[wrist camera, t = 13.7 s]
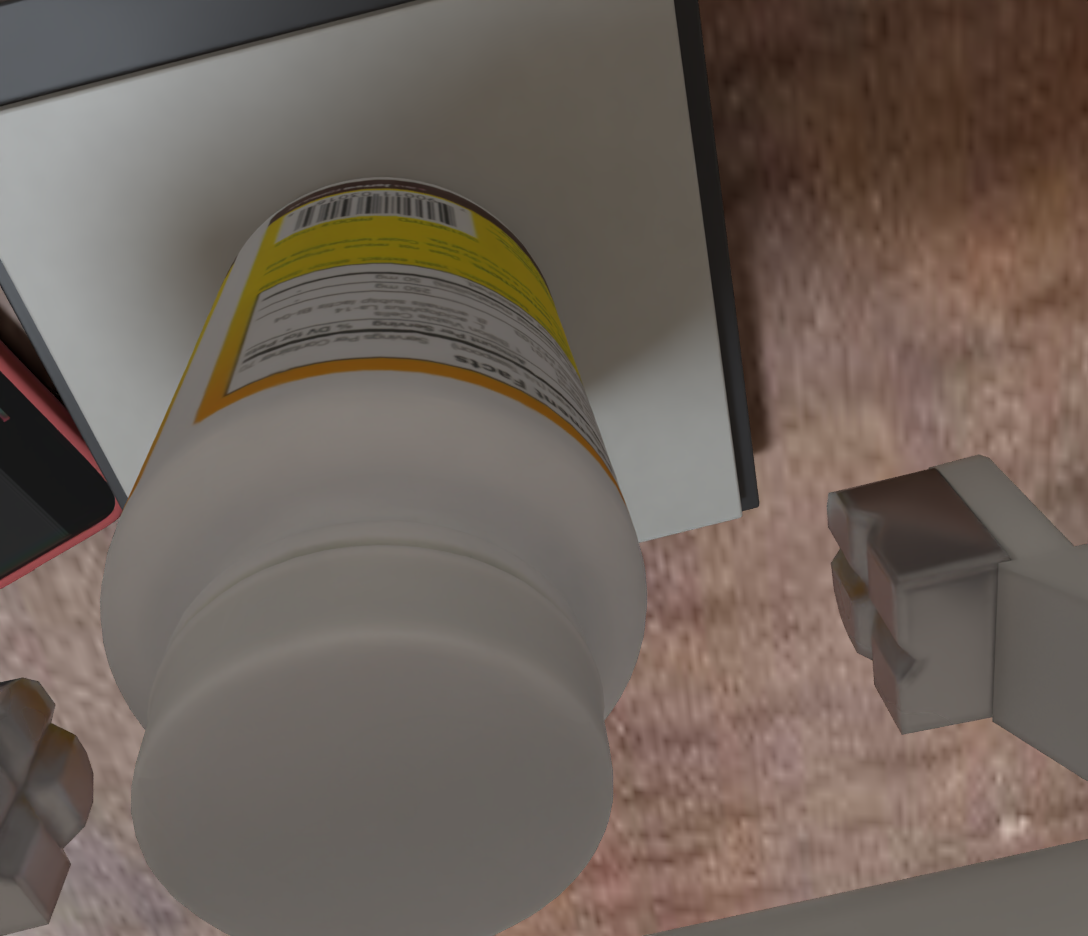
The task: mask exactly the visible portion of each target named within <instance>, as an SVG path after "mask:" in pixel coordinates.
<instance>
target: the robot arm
mask: <svg viewBox="0 0 1088 936" xmlns="http://www.w3.org/2000/svg"><path fill="white" fill-rule="evenodd" d="M827 517H828V528H829V530H830V531H831V533H832V535H833V536H834V538H835V540H836V542H837V543H838V545H839V547H840V550H839V551H838V553H837V554H836V556H835V558H834V559H833V561H832V562H831V568H832V577H833V586H834V592H835V596H836V600H837V605H838V609H839V613H840V616H841V619H842V621H843V624H844V627H845V629H846V632H847V634H848V636H849V638H850V640H851V642H852V644H853V646H854V648H855V650H856V652H857V653H859V654H861V655H863V656H865V657H867V658H869V659H871V660H873V674H874V685H875V687H876V689H877V691H878V692H879V694H880V696H881V698H882V700H883V702H884V703H885V705H886V707H887V709H888V711H889V712H890V714H891V716H892V718H893V720H894V722H895V723H896V725H897V727H898V729H899V731H900V732H901V734H902V735H903V734H908V733H913V732H918V731H923V730H929V729H934V728H939V727H944V726H949V725H954V724H959V723H965V722H970V721H975V720H980V719H985V718H990V717H993V722H994V723H996V724H998V725H999V726H1001V727H1002V728H1004V729H1006V730H1007V731H1009V732H1010V733H1012V734H1013V735H1015V736H1017V737H1018V738H1020V739H1021V740H1023V741H1025V742H1026V743H1028V744H1029V745H1031V746H1032V747H1034V748H1036V749H1037V750H1039V751H1040V752H1042V753H1043V754H1045V755H1047V756H1048V757H1050V758H1051V759H1053V760H1055V761H1056V762H1058V763H1059V764H1061V765H1062V766H1064V767H1066V768H1067V769H1069V770H1070V771H1072V772H1074V773H1075V774H1077V775H1078V776H1080V777H1081V778H1083V779H1085V780H1086V781H1088V544H1084V545H1079V546H1075V547H1074V545H1073V544H1072V543H1071V542H1070V541H1069V540H1068V539H1067V538H1066V537H1065V536H1064V535H1063V534H1062V533H1061V532H1060V531H1059V530H1058V529H1057V528H1056V527H1055V526H1054V525H1053V524H1052V523H1051V522H1050V521H1049V520H1048V519H1047V517H1046V516H1045V515H1044V514H1043V513H1042V512H1041V511H1040V510H1039V509H1038V508H1037V507H1036V506H1035V505H1034V504H1033V503H1032V502H1031V501H1030V500H1029V499H1028V498H1027V497H1026V496H1025V495H1024V494H1023V493H1022V492H1021V490H1020V489H1019V488H1018V487H1017V486H1016V485H1015V484H1014V483H1013V482H1012V481H1011V480H1010V479H1009V478H1008V477H1007V476H1006V475H1005V474H1004V473H1003V472H1002V471H1001V470H1000V469H999V468H998V467H997V466H996V465H995V464H994V462H993V461H992V460H991V459H990V458H988V457H985V456H982V455H975V456H971V457H967V458H963V459H960V460H956V461H952V462H948V463H944V464H940V465H937V466H933V467H929V469H927V470H923V471H919V472H915V473H911V474H906V475H902V476H898V477H894V478H890V479H885V480H881V481H877V482H873V483H869V484H864V485H860V486H856V487H852V488H848V489H843V490H839V491H835V492H831V493H829V494H828V502H827ZM54 709H55V703H54V702H53V700H52V699H51V698H50V696H49V695H48V694H47V692H46V691H45V689H44V688H43V687H42V685H41V684H40V683H39V681H35V680H31V679H26V678H19V679H14V680H9V681H4V682H0V936H3V935H7V934H11V933H15V932H19V931H23V930H27V929H31V928H35V927H39V926H43V925H47V924H49V922H50V919H51V916H52V914H53V911H54V908H55V906H56V903H57V900H58V898H59V895H60V892H61V890H62V887H63V884H64V882H65V879H66V876H67V874H68V871H69V868H70V866H71V863H70V861H69V860H68V858H67V856H66V854H65V852H64V850H63V848H64V847H65V846H66V845H67V844H68V843H69V842H70V841H71V840H72V839H73V838H74V837H75V836H76V835H77V834H78V833H79V832H80V831H81V830H82V829H83V828H84V827H85V825H86V822H87V819H88V816H89V813H90V810H91V807H92V804H93V771H92V768H91V764H90V761H89V758H88V755H87V752H86V751H85V749H84V747H83V746H82V744H81V743H80V741H79V740H78V738H77V736H76V735H74V734H72V733H70V732H68V731H66V730H64V729H62V728H60V727H58V726H56V725H54V724H52V723H51V721H52V717H53V713H54ZM644 936H1088V839H1086V840H1081V841H1076V842H1072V843H1067V844H1063V845H1058V846H1053V847H1049V848H1044V849H1040V850H1035V851H1030V852H1026V853H1021V854H1017V855H1012V856H1008V857H1003V858H998V859H994V860H989V861H985V862H980V863H975V864H971V865H966V866H962V867H957V868H952V869H948V870H943V871H939V872H934V873H930V874H925V875H920V876H916V877H911V878H907V879H902V880H897V881H893V882H888V883H884V884H879V885H875V886H870V887H865V888H861V889H856V890H852V891H847V892H842V893H838V894H833V895H829V896H824V897H819V898H815V899H810V900H806V901H801V902H796V903H792V904H787V905H782V906H778V907H773V908H769V909H764V910H759V911H755V912H750V913H746V914H741V915H736V916H732V917H727V918H722V919H718V920H713V921H709V922H704V923H699V924H695V925H690V926H685V927H681V928H676V929H672V930H667V931H662V932H658V933H653V934H649V935H644Z"/></svg>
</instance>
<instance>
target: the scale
mask: <svg viewBox="0 0 1088 936" xmlns="http://www.w3.org/2000/svg"><path fill="white" fill-rule="evenodd" d="M371 177H392V178H405V179H411V180H416V181H421V182H425V183H429V184H433V185H437V186H440V187H442V188H445V189H448V190H451V191H453V192H455V193H458V194H460V195H462V196H464V197H466V198H468V199H470V200H471V201H473V202H475V203H476V204H478V205H479V206H481V207H483V208H484V209H486V210H487V211H489V212H490V213H491V214H492V215H494V216H495V217H496V218H498V219H499V220H500V221H501V222H502V223H503V224H504V225H506V226H507V227H508V228H509V229H510V230H511V231H512V232H513V233H514V234H515V236H516V237H517V238H518V239H519V240H520V241H521V242H522V244H523V245H524V246H525V247H526V249H527V250H528V252H529V253H530V255H531V256H532V258H533V260H534V261H535V263H536V264H537V266H538V267H539V269H540V271H541V273H542V275H543V277H544V279H545V280H546V283H547V285H548V288H549V290H550V293H551V296H552V298H553V301H554V304H555V307H556V310H557V313H558V316H559V319H560V322H561V324H562V327H563V329H564V332H565V335H566V338H567V341H568V344H569V347H570V350H571V353H572V355H573V358H574V361H575V363H576V366H577V369H578V372H579V374H580V377H581V380H582V383H583V386H584V389H585V392H586V395H587V397H588V400H589V403H590V406H591V408H592V411H593V414H594V417H595V420H596V423H597V425H598V428H599V430H600V433H601V436H602V439H603V442H604V445H605V448H606V451H607V454H608V456H609V459H610V462H611V464H612V467H613V469H614V472H615V475H616V478H617V481H618V484H619V487H620V490H621V492H622V494H623V497H624V500H625V502H626V505H627V508H628V511H629V514H630V517H631V520H632V523H633V526H634V529H635V531H636V534H637V538H638V542H639V543H640V542H644V541H648V540H652V539H656V538H660V537H664V536H668V535H673V534H677V533H681V532H685V531H689V530H693V529H697V528H701V527H705V526H709V525H713V524H717V523H721V522H725V521H729V520H733V519H737V518H740V517H742V511H745V510H749V509H753V508H757V507H759V497H758V489H757V481H756V473H755V465H754V456H753V448H752V440H751V432H750V423H749V415H748V407H747V399H746V391H745V382H744V374H743V366H742V358H741V349H740V341H739V333H738V325H737V317H736V308H735V300H734V292H733V284H732V275H731V267H730V259H729V251H728V243H727V234H726V226H725V218H724V210H723V201H722V193H721V185H720V177H719V169H718V160H717V152H716V144H715V136H714V128H713V119H712V111H711V103H710V95H709V86H708V78H707V70H706V62H705V54H704V45H703V37H702V29H701V21H700V12H699V4H698V0H0V286H1V288H2V290H3V291H4V293H5V295H6V297H7V299H8V301H9V303H10V304H11V306H12V308H13V310H14V312H15V314H16V315H17V317H18V319H19V321H20V323H21V325H22V327H23V328H24V330H25V332H26V334H27V336H28V338H29V339H30V341H31V343H32V345H33V347H34V349H35V351H36V352H37V354H38V356H39V358H40V360H41V362H42V363H43V365H44V367H45V369H46V371H47V373H48V375H49V376H50V378H51V380H52V382H53V384H54V386H55V387H56V389H57V391H58V393H59V395H60V397H61V399H62V400H63V402H64V404H65V406H66V408H67V410H68V411H69V413H70V415H71V417H72V419H73V421H74V423H75V424H76V426H77V428H78V430H79V432H80V434H81V435H82V437H83V439H84V441H85V443H86V445H87V447H88V448H89V450H90V452H91V454H92V456H93V458H94V459H95V461H96V463H97V465H98V467H99V469H100V471H101V472H102V474H103V476H104V478H105V480H106V482H107V483H108V485H109V487H110V489H111V491H112V493H113V495H114V496H115V498H116V500H117V502H118V504H119V506H120V507H121V509H122V511H123V509H124V506H125V504H126V502H127V500H128V497H129V495H130V493H131V491H132V488H133V486H134V484H135V482H136V479H137V477H138V475H139V473H140V470H141V468H142V466H143V464H144V461H145V459H146V457H147V455H148V452H149V450H150V448H151V446H152V443H153V441H154V439H155V437H156V435H157V432H158V430H159V428H160V426H161V423H162V421H163V419H164V416H165V414H166V412H167V410H168V407H169V405H170V403H171V401H172V398H173V396H174V394H175V391H176V389H177V387H178V384H179V382H180V380H181V378H182V375H183V373H184V371H185V369H186V367H187V364H188V362H189V359H190V357H191V355H192V352H193V350H194V348H195V345H196V343H197V340H198V338H199V336H200V334H201V331H202V329H203V326H204V324H205V321H206V319H207V317H208V315H209V313H210V311H211V308H212V305H213V303H214V301H215V299H216V297H217V294H218V292H219V290H220V288H221V285H222V283H223V281H224V279H225V277H226V275H227V272H228V271H229V269H230V267H231V265H232V263H233V262H234V260H235V258H236V256H237V255H238V253H239V252H240V250H241V249H242V247H243V246H244V244H245V243H246V242H247V240H248V239H249V238H250V237H251V235H252V234H253V233H254V232H255V231H256V230H257V229H258V228H259V227H260V226H261V225H262V224H263V223H264V222H265V221H266V220H267V219H268V218H269V217H271V216H272V215H273V214H274V213H276V212H277V211H279V210H280V209H281V208H283V207H284V206H286V205H287V204H289V203H291V202H292V201H294V200H296V199H298V198H299V197H301V196H303V195H305V194H308V193H310V192H312V191H314V190H317V189H319V188H322V187H325V186H328V185H331V184H335V183H339V182H343V181H348V180H353V179H360V178H371Z"/></svg>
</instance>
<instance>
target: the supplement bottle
mask: <svg viewBox="0 0 1088 936" xmlns="http://www.w3.org/2000/svg"><path fill="white" fill-rule="evenodd" d="M100 609H101V625H102V635H103V643H104V647H105V651H106V655H107V659H108V663H109V666H110V668H111V671H112V674H113V676H114V679H115V681H116V684H117V686H118V688H119V690H120V692H121V693H122V695H123V697H124V699H125V701H126V703H127V704H128V706H129V708H130V710H131V711H132V713H133V714H134V716H135V717H136V718H137V720H138V721H139V722H140V724H141V725H142V726H143V728H144V729H145V734H144V737H143V741H142V744H141V748H140V751H139V754H138V758H137V761H136V765H135V771H134V776H133V781H132V790H131V814H132V819H133V824H134V829H135V834H136V838H137V840H138V843H139V845H140V848H141V850H142V853H143V855H144V858H145V860H146V862H147V865H148V866H149V867H150V869H151V870H152V872H153V873H154V875H155V876H156V877H157V879H158V880H159V881H160V882H161V884H162V885H163V886H164V887H165V888H166V889H167V890H168V892H169V893H170V894H171V895H172V896H173V897H174V898H175V899H176V900H177V901H178V902H180V903H181V904H182V905H184V906H185V907H186V908H188V909H189V910H190V911H191V912H193V913H194V914H195V915H197V916H198V917H199V918H201V919H202V920H204V921H206V922H207V923H209V924H211V925H212V926H214V927H216V928H217V929H219V930H221V931H222V932H224V933H226V934H228V935H231V936H494V935H496V934H498V933H500V932H502V931H504V930H506V929H508V928H510V927H512V926H513V925H515V924H517V923H519V922H521V921H523V920H525V919H526V918H528V917H530V916H531V915H533V914H535V913H536V912H538V911H539V910H541V909H542V908H543V907H545V906H546V905H547V904H548V903H550V902H551V901H552V900H554V899H555V898H556V897H558V896H559V895H560V894H561V893H562V892H563V891H564V890H565V889H566V888H567V887H568V886H569V885H570V884H571V883H572V882H573V881H574V880H575V879H576V877H577V876H578V875H579V874H580V873H581V871H582V870H583V869H584V868H585V867H586V865H587V864H588V862H589V861H590V859H591V858H592V856H593V855H594V853H595V851H596V849H597V847H598V845H599V843H600V841H601V839H602V837H603V835H604V832H605V830H606V827H607V824H608V821H609V817H610V812H611V808H612V803H613V769H612V762H611V755H610V748H609V743H608V738H607V733H606V728H605V723H604V720H605V719H606V718H607V716H608V715H609V714H610V712H611V711H612V709H613V708H614V706H615V705H616V703H617V702H618V700H619V699H620V697H621V695H622V693H623V691H624V689H625V687H626V685H627V684H628V682H629V680H630V677H631V675H632V672H633V670H634V667H635V665H636V662H637V659H638V655H639V652H640V648H641V644H642V641H643V637H644V629H645V619H646V609H647V586H646V573H645V566H644V561H643V557H642V553H641V549H640V546H639V542H638V538H637V534H636V531H635V529H634V526H633V523H632V520H631V517H630V514H629V511H628V508H627V505H626V502H625V500H624V497H623V494H622V492H621V490H620V487H619V484H618V481H617V478H616V475H615V472H614V469H613V467H612V464H611V462H610V459H609V456H608V454H607V451H606V448H605V445H604V442H603V439H602V436H601V433H600V430H599V428H598V425H597V423H596V420H595V417H594V414H593V411H592V408H591V406H590V403H589V400H588V397H587V395H586V392H585V389H584V386H583V383H582V380H581V377H580V374H579V372H578V369H577V366H576V363H575V361H574V358H573V355H572V353H571V350H570V347H569V344H568V341H567V338H566V335H565V332H564V329H563V327H562V324H561V322H560V319H559V316H558V313H557V310H556V307H555V304H554V301H553V298H552V296H551V293H550V290H549V288H548V285H547V283H546V280H545V279H544V277H543V275H542V273H541V271H540V269H539V267H538V266H537V264H536V263H535V261H534V260H533V258H532V256H531V255H530V253H529V252H528V250H527V249H526V247H525V246H524V245H523V244H522V242H521V241H520V240H519V239H518V238H517V237H516V236H515V234H514V233H513V232H512V231H511V230H510V229H509V228H508V227H507V226H506V225H504V224H503V223H502V222H501V221H500V220H499V219H498V218H496V217H495V216H494V215H492V214H491V213H490V212H489V211H487V210H486V209H484V208H483V207H481V206H479V205H478V204H476V203H475V202H473V201H471V200H470V199H468V198H466V197H464V196H462V195H460V194H458V193H455V192H453V191H451V190H448V189H445V188H442V187H440V186H437V185H433V184H429V183H425V182H421V181H416V180H411V179H405V178H392V177H371V178H360V179H353V180H348V181H343V182H339V183H335V184H331V185H328V186H325V187H322V188H319V189H317V190H314V191H312V192H310V193H308V194H305V195H303V196H301V197H299V198H298V199H296V200H294V201H292V202H291V203H289V204H287V205H286V206H284V207H283V208H281V209H280V210H279V211H277V212H276V213H274V214H273V215H272V216H271V217H269V218H268V219H267V220H266V221H265V222H264V223H263V224H262V225H261V226H260V227H259V228H258V229H257V230H256V231H255V232H254V233H253V234H252V235H251V237H250V238H249V239H248V240H247V242H246V243H245V244H244V246H243V247H242V249H241V250H240V252H239V253H238V255H237V256H236V258H235V260H234V262H233V263H232V265H231V267H230V269H229V271H228V272H227V275H226V277H225V279H224V281H223V283H222V285H221V288H220V290H219V292H218V294H217V297H216V299H215V301H214V303H213V305H212V308H211V311H210V313H209V315H208V317H207V319H206V321H205V324H204V326H203V329H202V331H201V334H200V336H199V338H198V340H197V343H196V345H195V348H194V350H193V352H192V355H191V357H190V359H189V362H188V364H187V367H186V369H185V371H184V373H183V375H182V378H181V380H180V382H179V384H178V387H177V389H176V391H175V394H174V396H173V398H172V401H171V403H170V405H169V407H168V410H167V412H166V414H165V416H164V419H163V421H162V423H161V426H160V428H159V430H158V432H157V435H156V437H155V439H154V441H153V443H152V446H151V448H150V450H149V452H148V455H147V457H146V459H145V461H144V464H143V466H142V468H141V470H140V473H139V475H138V477H137V479H136V482H135V484H134V486H133V488H132V491H131V493H130V495H129V497H128V500H127V502H126V504H125V506H124V509H123V511H122V513H121V516H120V518H119V521H118V524H117V527H116V530H115V533H114V536H113V539H112V541H111V544H110V547H109V550H108V553H107V559H106V564H105V570H104V575H103V581H102V587H101V597H100Z"/></svg>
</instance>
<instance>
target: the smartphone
mask: <svg viewBox="0 0 1088 936" xmlns="http://www.w3.org/2000/svg"><path fill="white" fill-rule="evenodd" d="M121 513H122V509H121V507H120V506H119V504H118V502H117V500H116V498H115V496H114V495H113V493H112V491H111V489H110V487H109V485H108V483H107V482H106V480H105V478H104V476H103V474H102V472H101V471H100V469H99V467H98V465H97V463H96V461H95V459H94V458H93V456H92V454H91V452H90V450H89V448H88V447H87V445H86V443H85V441H84V439H83V437H82V435H81V434H80V432H79V430H78V428H77V426H76V424H75V423H74V421H73V419H72V417H71V415H70V413H69V411H68V410H67V409H66V408H65V407H64V406H63V405H62V404H61V403H60V402H59V401H58V400H57V399H56V398H55V397H54V395H53V394H52V393H51V392H50V391H49V390H48V389H47V388H46V387H45V386H44V385H43V384H42V383H41V382H40V381H39V380H38V379H37V378H36V377H35V376H34V375H33V374H32V373H31V371H30V370H29V369H28V368H27V367H26V366H25V365H24V364H23V363H22V362H21V361H20V360H19V359H18V358H17V357H16V356H15V355H14V354H13V353H12V352H11V351H10V350H9V349H8V348H7V346H6V345H5V344H4V343H3V342H2V341H1V340H0V589H2V588H4V587H5V586H7V585H9V584H11V583H12V582H14V581H16V580H17V579H19V578H21V577H23V576H24V575H26V574H28V573H30V572H31V571H33V570H35V568H37V567H39V566H40V565H42V564H44V563H45V562H47V561H49V560H51V559H52V558H54V557H56V556H58V555H59V554H61V553H63V552H64V551H66V550H68V549H70V548H71V547H73V546H75V545H77V544H78V543H80V542H82V541H83V540H85V539H87V538H89V537H90V536H92V535H94V534H95V533H97V532H99V531H100V530H102V529H104V528H105V527H107V526H108V525H110V524H111V523H113V522H114V521H115V520H117V519H118V518H119V517H120V516H121Z"/></svg>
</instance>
